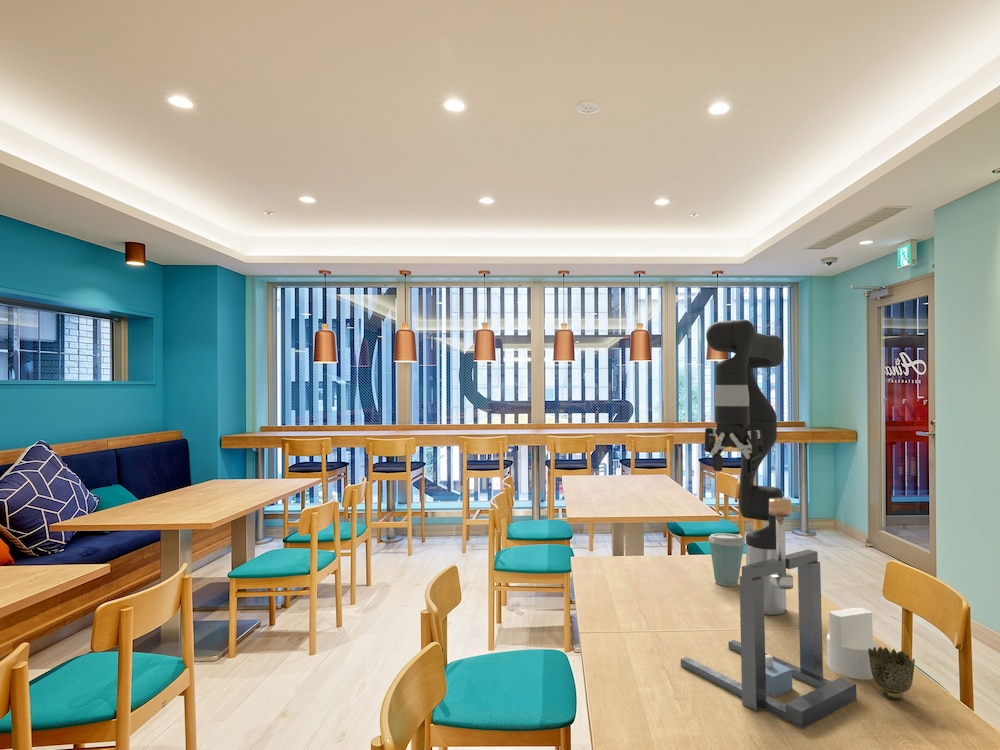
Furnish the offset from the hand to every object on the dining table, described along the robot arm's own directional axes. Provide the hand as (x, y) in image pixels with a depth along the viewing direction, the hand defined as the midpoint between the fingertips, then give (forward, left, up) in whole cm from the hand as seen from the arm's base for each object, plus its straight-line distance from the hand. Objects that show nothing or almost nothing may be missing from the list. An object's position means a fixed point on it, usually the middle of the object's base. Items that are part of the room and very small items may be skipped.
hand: (733, 473), depth 133 cm
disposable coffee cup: (-35, -29, -40) cm, 61 cm away
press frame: (+10, +13, -40) cm, 43 cm away
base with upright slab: (-11, +20, -40) cm, 46 cm away
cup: (-6, +30, -40) cm, 51 cm away
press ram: (+10, +18, -19) cm, 28 cm away
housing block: (+10, +15, -40) cm, 44 cm away
